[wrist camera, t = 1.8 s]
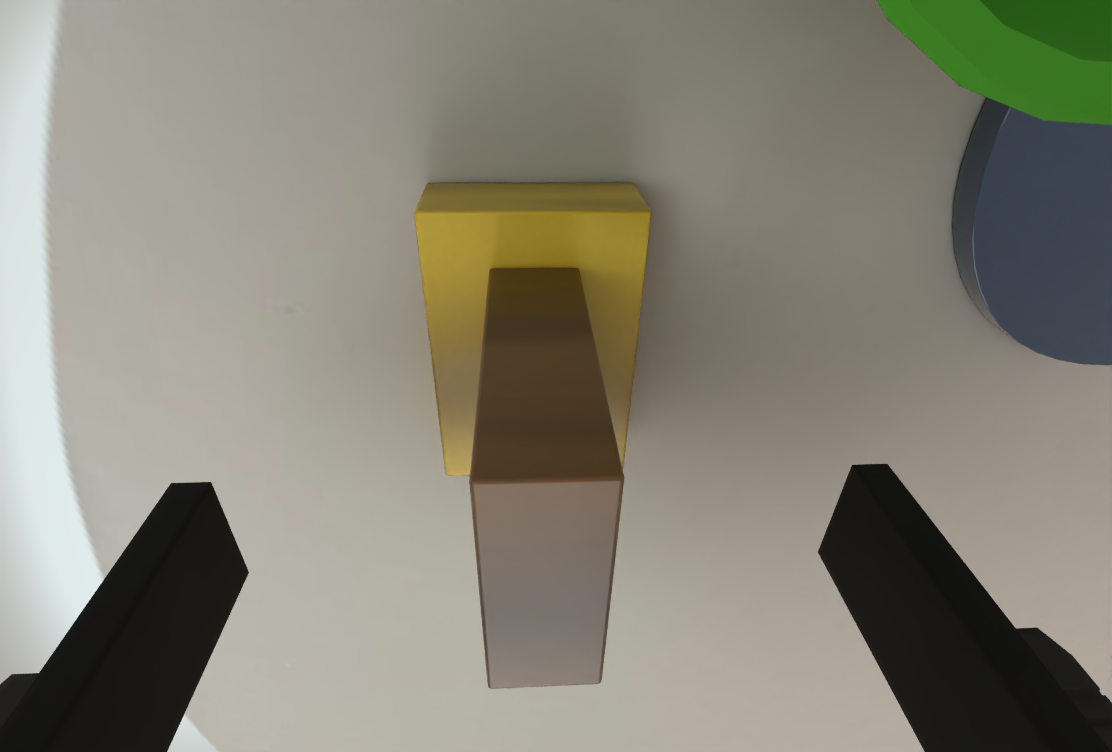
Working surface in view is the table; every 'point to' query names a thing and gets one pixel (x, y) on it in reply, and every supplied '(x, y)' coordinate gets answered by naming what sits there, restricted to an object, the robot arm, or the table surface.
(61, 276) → the table surface
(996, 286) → the plate
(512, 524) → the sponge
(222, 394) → the table surface
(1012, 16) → the cup
